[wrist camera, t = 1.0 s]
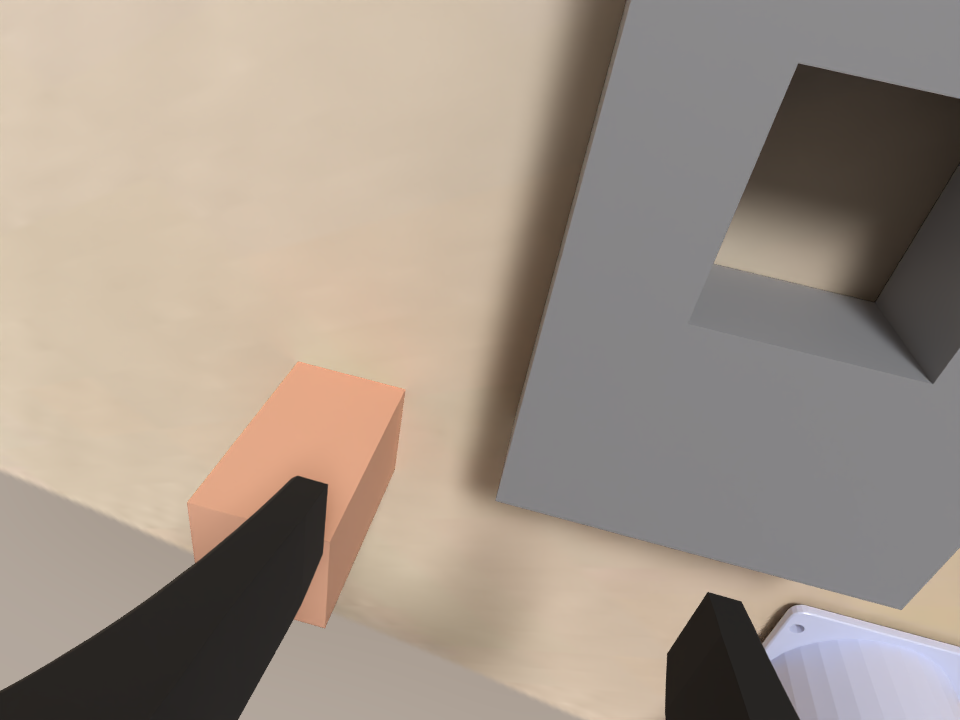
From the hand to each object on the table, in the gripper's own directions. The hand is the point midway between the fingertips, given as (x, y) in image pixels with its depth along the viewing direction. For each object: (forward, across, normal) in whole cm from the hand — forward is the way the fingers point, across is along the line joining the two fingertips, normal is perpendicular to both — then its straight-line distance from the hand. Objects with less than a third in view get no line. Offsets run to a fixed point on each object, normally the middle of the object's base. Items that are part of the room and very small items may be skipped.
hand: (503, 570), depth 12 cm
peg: (+10, +6, +6) cm, 13 cm away
